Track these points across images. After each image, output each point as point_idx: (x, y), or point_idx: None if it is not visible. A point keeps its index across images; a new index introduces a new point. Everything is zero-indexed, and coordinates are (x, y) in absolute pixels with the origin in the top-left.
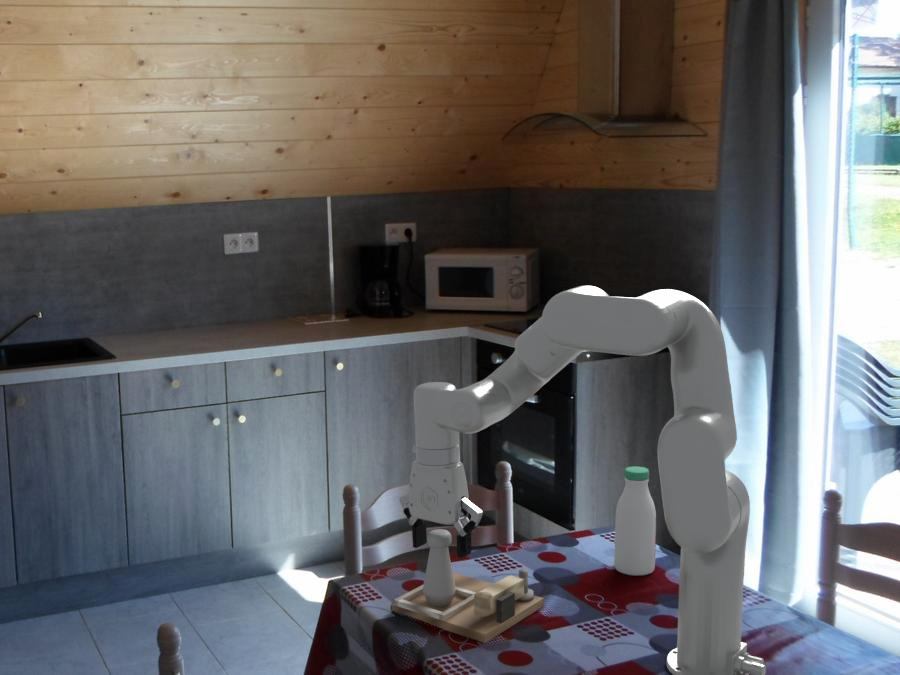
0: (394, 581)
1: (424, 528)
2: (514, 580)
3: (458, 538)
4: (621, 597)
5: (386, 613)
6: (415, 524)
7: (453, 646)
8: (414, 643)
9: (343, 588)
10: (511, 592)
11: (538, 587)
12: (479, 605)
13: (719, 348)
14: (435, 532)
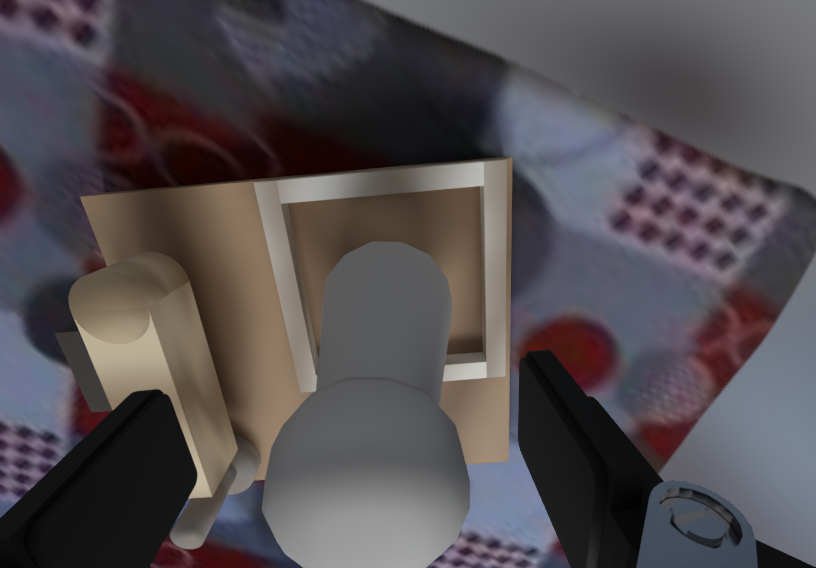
0: (647, 339)
1: (562, 527)
2: None
3: (16, 515)
4: None
5: (515, 138)
6: (635, 514)
7: (147, 97)
8: (257, 9)
9: (778, 191)
10: (103, 408)
11: None
12: (110, 265)
13: None
14: (370, 507)
